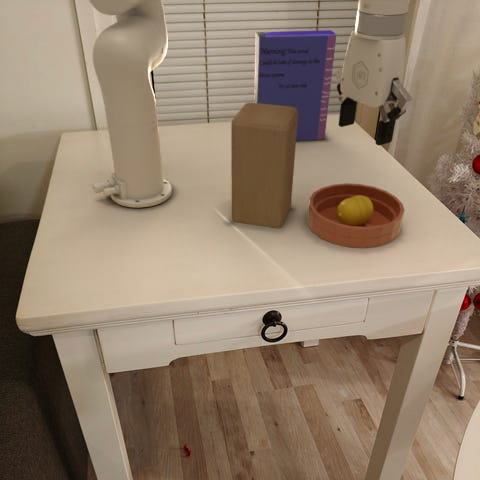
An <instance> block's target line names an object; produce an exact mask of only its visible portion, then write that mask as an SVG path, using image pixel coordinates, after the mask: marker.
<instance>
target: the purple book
mask: <svg viewBox="0 0 480 480" xmlns="http://www.w3.org/2000/svg"><path fill="white" fill-rule="evenodd" d="M254 40H255V44H254V47H255V48H254V80H253V83H254V85H253V86H254V87H253V103H260V104H270V105H280V106H289V107H294V108H297V111H298V123H297V135H296V142H310V141H311V142H312V141H325V140H326V139H325V138H326V129H327V122H328V121H327V120H328V113H329V103H330V95H331V86H332V79H333V78H332V77H333V69H334V59H335V53H336V51H335V50H336V41H337V34H336V33H335V32H334V31H333V30H330V29H329V30H328V29H327V30H326V29H324V30H323V29H322V30H288V31H287V30H285V31H282V30H281V31H280V30H279V31H255V39H254Z"/></svg>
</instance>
